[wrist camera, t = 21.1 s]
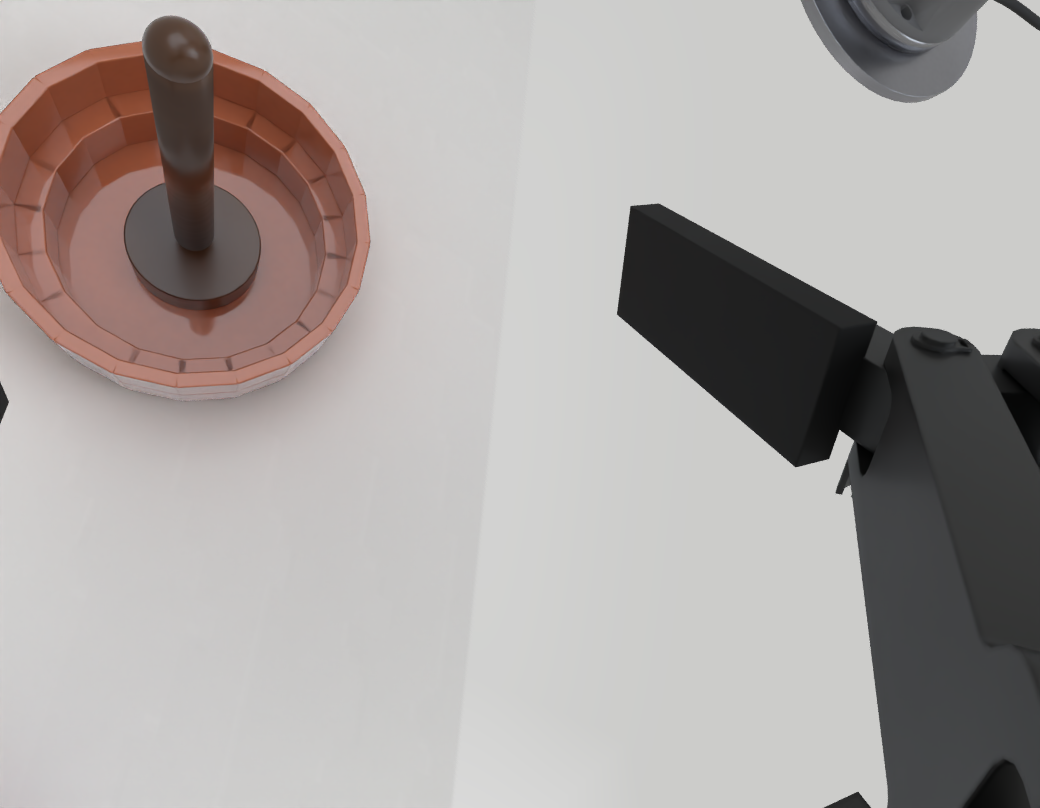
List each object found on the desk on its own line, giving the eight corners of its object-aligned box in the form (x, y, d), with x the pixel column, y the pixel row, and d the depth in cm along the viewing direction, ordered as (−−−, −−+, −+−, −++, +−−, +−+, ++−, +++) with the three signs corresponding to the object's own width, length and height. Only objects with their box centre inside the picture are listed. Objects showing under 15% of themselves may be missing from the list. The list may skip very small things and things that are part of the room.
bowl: (279, 87, 36) (291, 17, 30) (388, 341, 37) (418, 318, 31) (-40, 150, 30) (-97, 76, 24) (101, 449, 31) (76, 443, 25)
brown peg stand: (230, 182, 34) (244, -90, 17) (277, 289, 34) (334, 120, 18) (107, 212, 31) (-9, -70, 15) (159, 326, 32) (100, 171, 15)
